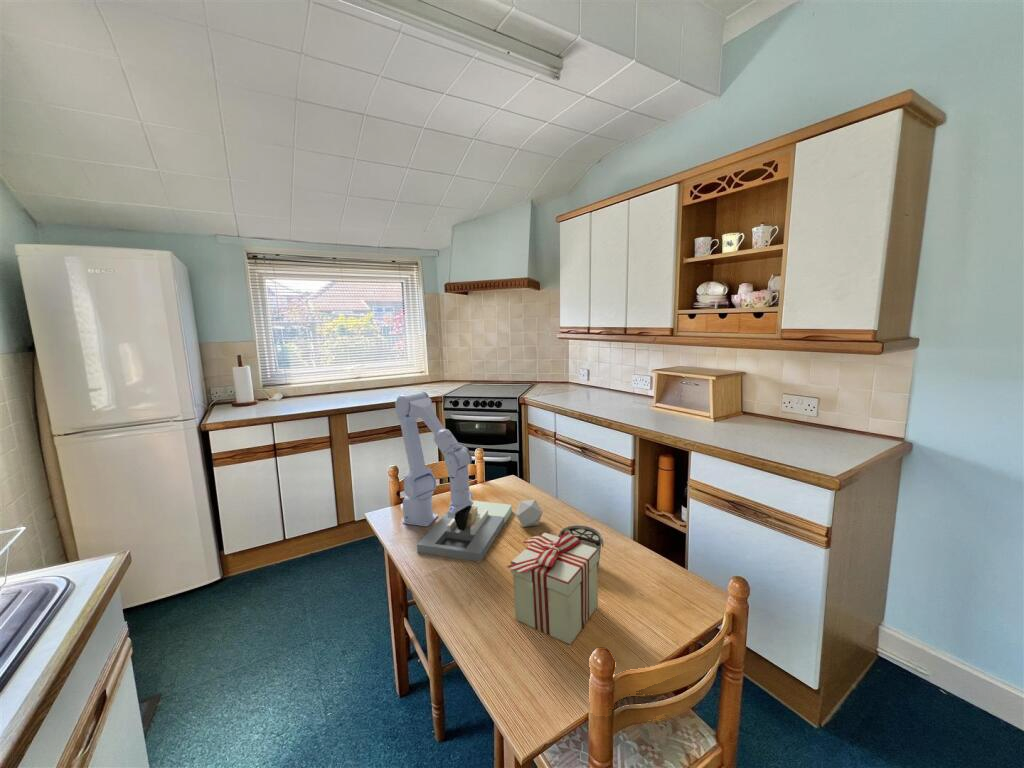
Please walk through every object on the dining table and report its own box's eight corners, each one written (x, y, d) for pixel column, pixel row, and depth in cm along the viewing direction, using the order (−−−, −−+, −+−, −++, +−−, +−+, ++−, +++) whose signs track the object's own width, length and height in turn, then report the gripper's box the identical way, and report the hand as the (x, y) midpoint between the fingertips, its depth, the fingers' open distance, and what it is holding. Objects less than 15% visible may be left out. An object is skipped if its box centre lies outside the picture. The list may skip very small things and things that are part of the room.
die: (537, 534, 133) (549, 506, 136) (513, 522, 133) (526, 494, 135) (531, 531, 141) (543, 504, 144) (508, 519, 141) (521, 493, 143)
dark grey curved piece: (607, 562, 116) (608, 529, 115) (602, 575, 111) (603, 540, 109) (565, 553, 121) (564, 521, 120) (558, 564, 116) (558, 531, 114)
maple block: (457, 526, 133) (456, 511, 133) (463, 519, 138) (463, 504, 137) (472, 528, 132) (471, 513, 131) (477, 520, 137) (477, 506, 136)
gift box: (532, 580, 110) (530, 519, 107) (600, 603, 100) (601, 537, 97) (497, 622, 95) (494, 553, 92) (573, 653, 86) (573, 577, 83)
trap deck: (417, 552, 124) (416, 538, 123) (459, 505, 153) (459, 494, 153) (480, 561, 118) (480, 547, 118) (512, 511, 148) (511, 499, 147)
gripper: (462, 499, 120) (464, 542, 122) (480, 479, 134) (482, 519, 136) (440, 496, 122) (442, 539, 125) (460, 477, 136) (462, 516, 138)
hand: (461, 528), depth 130 cm, fingers closed
